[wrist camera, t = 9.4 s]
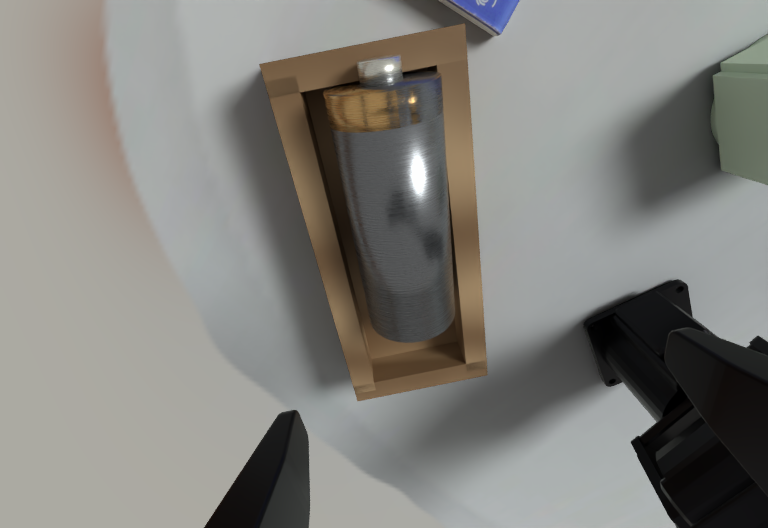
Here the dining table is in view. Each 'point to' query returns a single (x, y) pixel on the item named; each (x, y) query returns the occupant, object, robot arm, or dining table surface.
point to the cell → (396, 195)
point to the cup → (743, 113)
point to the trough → (331, 221)
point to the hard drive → (485, 12)
